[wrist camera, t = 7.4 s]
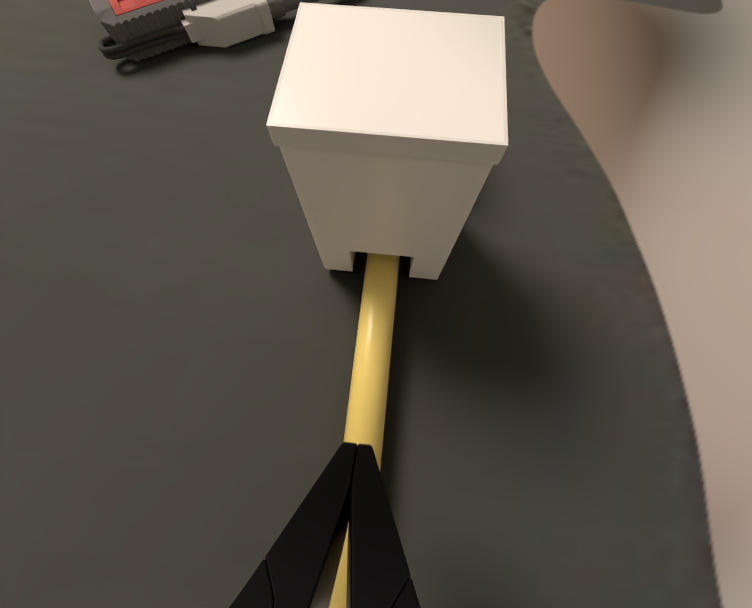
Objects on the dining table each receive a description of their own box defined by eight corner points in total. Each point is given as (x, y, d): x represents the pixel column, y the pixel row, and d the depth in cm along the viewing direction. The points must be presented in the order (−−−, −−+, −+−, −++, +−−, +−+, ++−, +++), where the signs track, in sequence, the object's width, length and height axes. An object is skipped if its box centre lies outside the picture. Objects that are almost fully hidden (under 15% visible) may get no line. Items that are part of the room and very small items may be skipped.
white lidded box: (438, 281, 18) (507, 145, 8) (322, 270, 18) (265, 125, 9) (442, 203, 19) (504, 16, 10) (335, 193, 19) (299, 2, 10)
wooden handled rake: (441, 724, 12) (453, 783, 10) (230, 694, 13) (204, 746, 11) (458, 176, 20) (466, 152, 18) (328, 165, 20) (324, 140, 19)
